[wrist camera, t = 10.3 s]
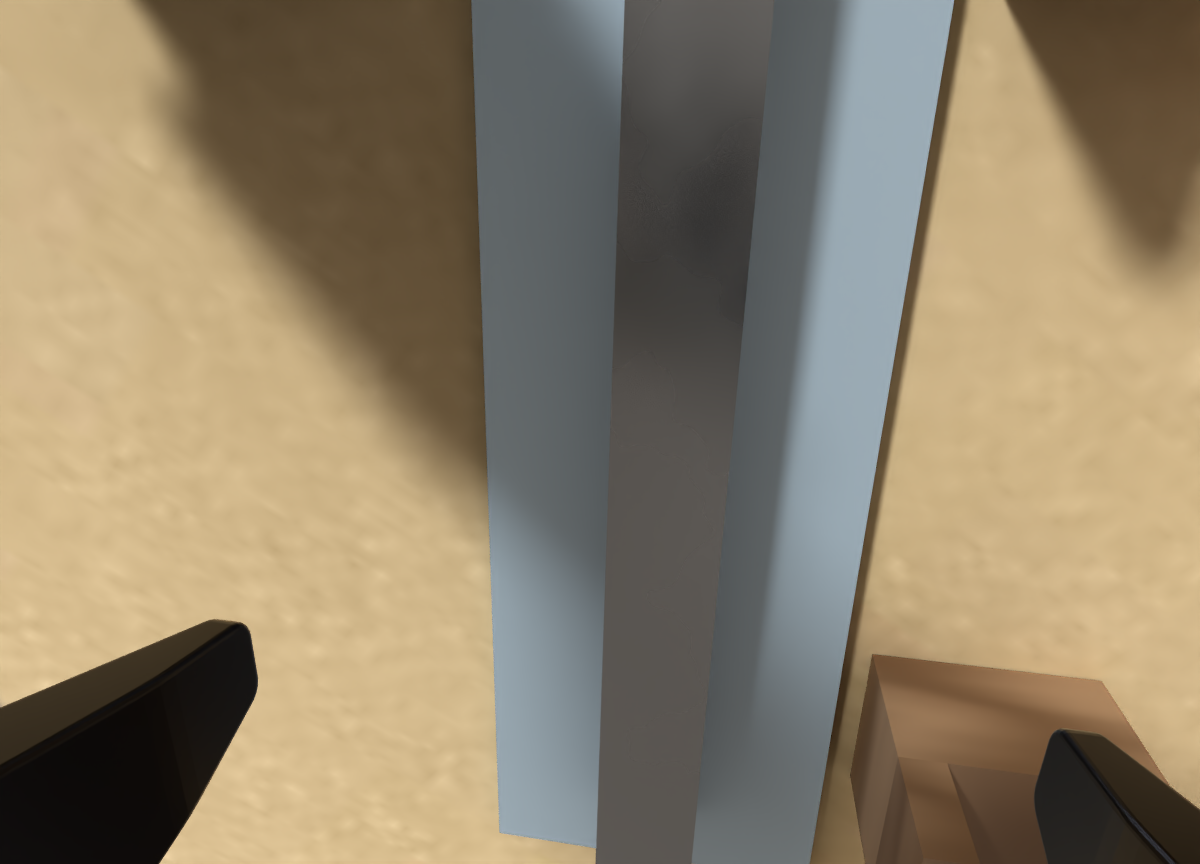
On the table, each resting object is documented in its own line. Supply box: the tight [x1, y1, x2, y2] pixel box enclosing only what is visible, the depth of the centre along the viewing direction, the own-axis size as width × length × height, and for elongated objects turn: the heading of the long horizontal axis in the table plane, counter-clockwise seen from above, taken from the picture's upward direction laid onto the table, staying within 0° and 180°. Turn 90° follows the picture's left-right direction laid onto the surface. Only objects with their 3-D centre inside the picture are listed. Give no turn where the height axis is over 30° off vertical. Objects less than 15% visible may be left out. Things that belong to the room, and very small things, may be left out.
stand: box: [850, 654, 1169, 864], centre depth 17 cm, size 5×4×6 cm
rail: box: [596, 0, 774, 864], centre depth 16 cm, size 26×2×2 cm, turn 178°
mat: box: [471, 0, 954, 864], centre depth 18 cm, size 9×30×1 cm, turn 179°
